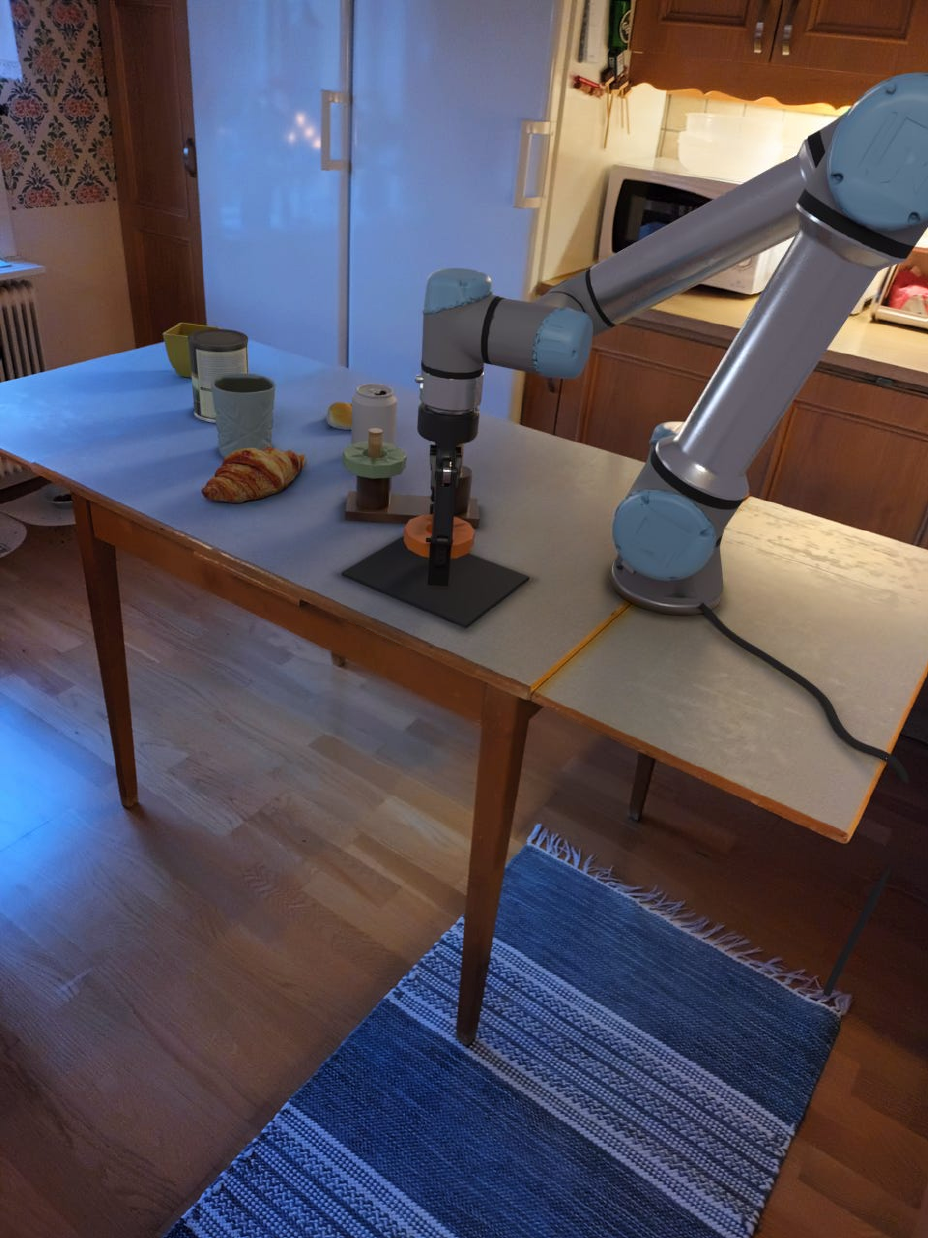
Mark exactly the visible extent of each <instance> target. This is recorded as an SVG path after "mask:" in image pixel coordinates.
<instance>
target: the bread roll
mask: <svg viewBox="0 0 928 1238" xmlns="http://www.w3.org/2000/svg"><path fill="white" fill-rule="evenodd" d="M325 419H326V422H327V424H328V425H329V426H330V427H331V428H334V429H338V430H343V431H344V430H346V431H347V430H348V431H349V430H350V431H351V424H352V402H350V403H347V402H343V401H336V402H333V403H331V405H329V406H328V409H327V412H326V416H325Z"/></svg>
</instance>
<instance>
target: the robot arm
mask: <svg viewBox="0 0 928 1238" xmlns="http://www.w3.org/2000/svg"><path fill="white" fill-rule="evenodd" d="M927 229H928V72H911V73H909V72H908V73H902V74H898V75H895V76H893V77H889V78H887V79H884V80H882V81H880V82H879V83H877V84H876V85H873V86H872V87H870V88H869V89H868V90H866V91H865V92H864V93H863V94H862V95H860V96H859V97H858V98H857V100H856V101H855V102H854V103H853V105H851V106H850V107H849V108H848V109H847V110H846V111H845V112H844V113H842V114H841V115H840V116H838V117H837V118H836V119H834V120H833V121H831V122H830V123H828V124H826V125H825V126H823V127H822V128H820V129H819V130H817V131H815V132H813V133H811V134H809V135H807V136H806V137H804V138H803V141H802V143H801V145H800V147H799V150H798V151H797V153H795V154H793V155H792V156H789V158H787V159H785V160H783V161H781V162H779V163H777V164H775V165H774V166H772V167H770V168H768V169H767V170H764V171H763V172H761V173H759V174H757V175H755V176H754V177H752V178H750V179H748V180H746V181H745V182H743V183H741V184H739V185H738V186H735V187H734V188H732V189H730V190H728V191H727V192H725V193H722V194H721V195H719V196H717V197H715V198H714V199H712V200H710V201H708V202H706V203H705V204H703V205H701V206H699V207H698V208H695V209H694V210H692V211H691V212H689V213H687V214H685V215H683V216H681V217H679V218H677V219H676V220H674V221H672V222H670V223H668V224H666V225H665V226H663V227H661V228H660V229H658V230H655V231H654V232H652V233H651V234H648V235H647V236H644V237H643V238H641V239H640V240H638V241H636V242H634V243H632V244H630V245H629V246H627V247H625V248H623V249H622V250H620V251H617V252H616V253H614V254H613V255H610V256H608V257H607V258H605V259H603V260H601V261H599V262H598V263H596V264H594V265H592V267H590V268H588V269H585V270H584V271H582V272H579V273H578V274H576V275H575V276H572V277H570V278H567V279H564V280H562V281H560V282H559V283H557V284H556V285H554V286H553V287H551V289H550V290H548V291H547V292H546V293H543V294H541V296H539V297H538V298H536V299H535V300H533V301H525V300H518V299H512V298H506V297H503V296H500V295H495V294H493V288H492V284H493V283H492V279H491V277H490V275H488V274H486V273H485V272H482V271H478V270H476V269H471V268H464V267H463V268H461V267H444V268H440V269H436V270H435V271H432V272H431V273H430V274H429V276H428V277H427V280H426V286H425V294H424V303H423V308H422V314H423V315H422V316H423V317H422V337H421V340H422V341H421V361H420V374H416V375H415V376H414V382H415V383H416V384H419V400H420V403H419V404H418V407H417V423H416V425H417V426H416V430H417V433H418V435H419V436H420V437H421V438H423V439H424V440H426V441H428V442H433V443H430V445H429V465H430V473H431V474H430V491H431V494H430V496H431V497H430V499H431V502H434V504H430V514H433V526H432V536H431V538H426V542H428V543H430V551H429V566H428V580H427V585H437V586H448V582H449V570H450V558H451V546H452V544H453V538H452V537H453V523H454V508H455V493H456V488H457V487H458V483H459V468H460V467H461V465H463V464H462V454H461V446H458V445H460V444H463V443H464V444H468V443H471V442H472V441H474V440H476V438H477V437H478V435H479V434H478V433H479V425H480V413H481V412H480V408H479V407H480V406H481V404H482V396H483V385H484V375H485V374H484V373H485V372H484V371H485V364H486V365H490V366H496V367H500V368H504V369H505V368H506V369H510V370H514V371H519V372H524V373H529V374H533V375H538V376H541V377H543V378H547V379H553V378H554V379H564V380H574V379H577V378H579V377H580V375H581V374H582V373H583V372H584V369H585V366H586V365H587V362H588V360H589V357H590V353H591V349H592V343H593V338H595V337H597V336H599V335H601V334H603V333H605V332H607V331H609V330H611V329H612V328H614V327H616V326H618V325H620V324H622V323H624V322H626V321H628V320H630V319H632V318H634V317H636V316H638V315H640V314H642V313H644V312H646V311H648V310H650V309H652V308H654V307H656V306H658V305H661V303H664V302H666V301H668V300H670V299H672V298H675V297H677V296H678V295H680V294H682V293H684V292H686V291H688V290H690V289H692V288H694V287H696V286H698V285H700V284H702V283H704V282H706V281H708V280H710V279H712V278H714V277H716V276H719V275H721V274H723V273H724V272H726V271H728V270H730V269H732V268H734V267H736V266H738V265H740V264H743V263H744V262H746V261H748V260H750V259H752V258H754V257H756V256H758V255H760V254H762V253H764V252H766V251H768V250H771V249H773V248H774V247H776V246H778V245H780V244H782V243H784V242H787V241H788V240H790V239H792V238H793V239H792V241H791V242H790V243H789V246H788V247H787V249H786V250H785V252H784V253H783V256H782V257H781V259H780V261H779V263H778V264H777V266H776V267H775V269H774V270H773V273H772V274H771V276H770V278H769V280H768V281H767V282H766V285H765V287H764V288H763V289H762V291H761V293H760V295H759V296H758V298H757V300H756V301H755V303H754V305H753V306H752V308H751V310H750V312H749V313H748V315H747V316H746V318H745V320H744V322H743V323H742V325H741V327H740V329H738V332H737V334H736V335H735V337H734V338H733V340H732V342H731V344H730V345H729V347H728V349H727V350H726V352H725V354H724V356H723V357H722V359H721V361H720V363H718V366H717V367H716V369H715V371H714V372H713V374H712V376H711V377H710V379H709V381H708V383H707V384H706V385H705V387H704V390H703V391H702V393H701V395H700V396H699V398H698V399H697V401H696V403H695V405H694V406H693V408H692V410H691V412H690V413H689V415H688V416H687V418H686V420H685V421H665V422H661V423H659V424H657V426H655V428H654V430H653V432H652V436H651V439H649V441H648V443H649V445H650V446H649V452H648V455H647V459H646V461H645V463H644V465H643V467H642V469H641V470H640V472H639V473H638V475H637V477H636V479H635V480H634V482H633V483H632V485H631V488H630V489H629V491H627V494H626V496H625V497H624V499H622V500H621V502H620V503H619V504H618V506H617V507H616V510H615V512H614V517H613V521H612V527H611V532H612V533H611V534H612V542H613V543H614V546H615V548H616V551H617V553H618V554H617V556H616V557H615V559H614V562H613V563H612V567H611V572H610V584H611V586H612V588H613V590H615V592H616V593H617V594H618V595H619V596H621V597H622V598H623V599H624V600H625V601H627V602H630V603H631V604H632V605H635V606H637V607H638V608H639V607H640V608H642V609H644V610H646V611H647V610H648V611H650V612H654V613H658V614H661V615H662V614H663V615H669V616H695V615H696V616H697V615H701V614H704V615H705V617H707V618H708V619H709V620H710V622H711V623H712V624H713V625H714V626H715V628H717V629H718V631H720V632H721V633H722V634H723V635H724V636H725V637H727V639H729V640H731V641H732V642H733V643H734V644H736V645H738V646H739V647H741V648H742V649H743V650H746V651H747V652H748V653H750V654H753V655H754V656H756V657H757V658H759V659H761V660H762V661H764V662H765V663H767V664H769V666H771V667H773V668H774V669H776V670H778V671H779V672H781V673H782V674H783V675H785V676H787V677H789V678H790V679H791V680H793V681H794V682H796V683H797V684H799V685H800V686H802V687H803V688H805V689H806V690H807V691H808V692H809V693H810V694H812V696H814V697H815V698H816V700H817V701H818V702H819V703H820V705H821V706H822V707H823V709H824V711H825V714H827V718H828V719H829V722H830V724H831V726H832V728H833V730H834V731H835V732H836V734H837V735H838V736H839V737H840V739H842V740H843V741H844V742H845V743H846V744H847V745H849V746H850V747H852V748H853V749H855V750H857V751H859V752H861V753H864V754H867V755H869V756H871V757H875V758H876V759H877V758H878V759H880V760H881V761H883V762H885V763H887V764H888V765H889V766H890V768H892V769H893V770H894V772H895V773H896V775H897V777H898V779H899V781H901V782H902V783H904V784H910V783H911V780H910V777H909V775H908V772H907V770H906V769H905V767H904V765H903V764H902V763H901V762H900V761H899V760H898V758H896V757H895V756H893V755H892V754H891V753H889V752H887V751H885V750H883V749H880V748H878V747H875V746H873V745H871V744H867V743H864V742H862V741H860V740H858V739H857V738H855V737H854V736H852V734H850V733H849V732H848V730H846V728H845V727H844V725H843V723H841V720H840V718H839V716H838V714H837V712H836V709H835V707H834V705H833V704H832V702H831V701H830V699H829V698H828V697H827V696H826V695H825V693H824V692H822V690H820V689H819V688H818V687H817V686H816V685H815V684H813V683H812V682H811V681H810V680H808V679H807V678H805V677H804V676H802V675H801V674H799V673H798V672H796V671H795V670H793V669H792V668H790V667H788V666H787V665H785V664H784V663H782V662H781V661H779V660H778V659H776V658H775V657H773V656H772V655H770V654H769V653H767V652H765V651H764V650H762V649H761V648H758V647H757V646H756V645H753V644H752V643H750V642H748V641H747V640H745V639H743V638H742V637H740V636H739V635H737V634H736V633H735V632H733V631H732V630H731V629H730V628H729V627H727V626H726V625H725V623H724V622H722V620H721V619H720V618H719V617H718V616H717V615H716V613H714V612H713V609H715V608H716V607H717V606H718V605H719V604H720V601H721V598H722V595H723V591H724V577H723V574H724V573H723V564H722V554H721V544H722V540H723V536H724V532H725V530H726V527H727V526H728V524H729V523H730V522H731V520H732V518H733V517H734V516H735V513H736V512H737V511H738V509H739V507H740V506H741V505H742V503H743V501H744V500H745V499H746V497H747V496H748V494H749V492H750V486H749V481H748V478H747V474H746V473H747V471H748V470H749V468H750V466H752V463H753V462H754V460H755V459H756V458H757V456H758V454H759V453H760V451H761V450H762V448H763V447H764V445H765V444H766V442H767V441H768V439H769V438H770V436H771V435H772V433H773V431H774V430H775V429H776V427H777V426H778V425H779V423H780V421H781V420H782V418H783V417H784V415H785V414H786V412H787V411H788V409H789V407H790V406H791V405H792V403H793V402H794V400H795V399H796V397H797V395H798V394H799V392H800V391H801V389H802V388H803V386H804V385H805V383H806V382H807V380H808V379H809V377H811V374H813V373H812V372H814V370H815V368H816V367H817V365H818V364H819V362H820V361H821V359H822V358H823V356H824V355H825V353H826V352H827V350H828V349H829V347H830V345H831V344H832V343H833V341H834V339H835V338H836V337H837V335H838V333H840V331H841V329H842V327H843V326H844V324H845V323H846V322H847V320H848V318H849V317H850V315H851V314H852V312H853V311H854V310H855V308H856V306H857V305H858V304H859V302H860V301H861V299H862V298H863V296H864V294H865V293H866V291H867V290H868V288H869V286H871V284H872V282H873V281H874V279H875V277H876V276H877V274H878V273H879V272H881V271H882V270H883V269H886V268H890V267H893V266H895V265H899V264H903V263H905V262H906V260H907V259H908V257H909V256H910V254H911V253H912V252H913V250H914V248H915V247H916V245H917V244H918V243H919V241H920V240H921V238H922V237H923V236H924V234H925V232H926V231H927ZM886 758H887V759H886ZM891 867H892V864H890V865H889V866H888V868H887V869H886V871H885V872H884V873H883V874H882V876H881V877H880V878H879V880H878V881H877V882H876V884H875V885H874V887H873V888H872V889H871V891H870V892H869V895H868V896H867V900H866V901H865V904H864V905H863V908H862V910H861V912H860V915H859V917H858V918H857V920H856V922H855V924H854V927H853V928H852V930H851V932H850V934H849V936H848V938H847V940H846V942H845V944H844V946H843V948H842V950H841V952H840V953H839V956H838V958H837V960H836V962H835V964H834V966H833V968H832V970H831V972H830V975H829V976H828V979H827V981H826V984H825V986H824V988H823V991H822V994H823V995H824V996H825V997H828V998H830V997H831V996H832V994H833V991H834V989H835V987H836V985H837V982H838V980H839V978H840V976H841V974H842V972H843V970H844V968H845V966H846V963H847V962H848V960H849V958H850V956H851V954H852V952H853V950H854V948H855V946H856V944H857V942H858V941H859V939H860V937H861V935H862V933H863V932H864V930H865V927H866V925H867V923H868V921H869V919H870V917H871V915H872V913H873V911H874V909H875V907H876V905H877V902H878V900H879V898H880V895H881V893H882V891H883V888H884V886H885V883H886V880H887V879H888V876H889V873H890V869H891Z"/></svg>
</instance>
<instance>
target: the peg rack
mask: <svg viewBox="0 0 928 1238" xmlns="http://www.w3.org/2000/svg"><path fill="white" fill-rule="evenodd" d="M458 446H461V454H462V465H461V467H460V468H459V483H458V487H457V488H456V493H455V508H454V517H458V518H460V519H462V520H464V521H466V522H468V523H470V525H471V526H472V528H473V529H479V528H480V527H479V526H480V513H479V512H480V511H479V503H478V499H477V498H471V492H472V481H473V470H472V468H470V467H468V466H466V465H463V463H464V453H465V452H464V451H465V443H463V444H460V445H458ZM368 457H370V458H382V430H381V429H379V428H371V429H369V436H368ZM392 477H393V476H392ZM392 477H389V478H367V477H362V476H357V475H356V482H355V485H356V486H355V487H356V488H355V490H356V491H352V490H351V491H349V490H348V492H347V497H346V503H345V509H344V521H357V522H369V523H371V522H373V523H390V524H405V525H407V523H408V521H409V520H411V519H413V518H416V517H418V516H421V515H430V504H434V502H431V499H430V497H431V495H418V494H417V495H416V494H400V493H398V494H397V493H392Z"/></svg>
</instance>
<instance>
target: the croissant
mask: <svg viewBox="0 0 928 1238" xmlns="http://www.w3.org/2000/svg"><path fill="white" fill-rule="evenodd" d="M306 464H307V457H306V454H303V453H301V454H299V453H297V452H295V451H293V450H291V449H287V450H285V451H283V450H279V449H278V448H276V447H273V446H271V447H266V448H264V449H263V450H262V451H261V450H259V449H256V448H244V449H239V450H236V451H233V452H232V453H231V454H230V455H228V456H227V457H225V458H223V459H222V463H221V465H220V467H218V468H217V469H216V470H215V471H214V475H213V477H211V478H210V479H209V480H208V481H206V484H205V486H204V487H203V488H201V494H202V496H203V497H204V499H206V500H210V501H214V502H227V503H237V504H238V503H244V502H246V501H247V502H248V501H254V500H261V499H264V498H267V497H268V496H270V495H274V494H277V493H279V492H281V491H283V490H284V489H286V488H287V487H288V486H289V485H290V483H291V482H292V481H293V480H295V479H296V477H297V476H298V473H301V472H302V471H303V469H305V467H306Z"/></svg>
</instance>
